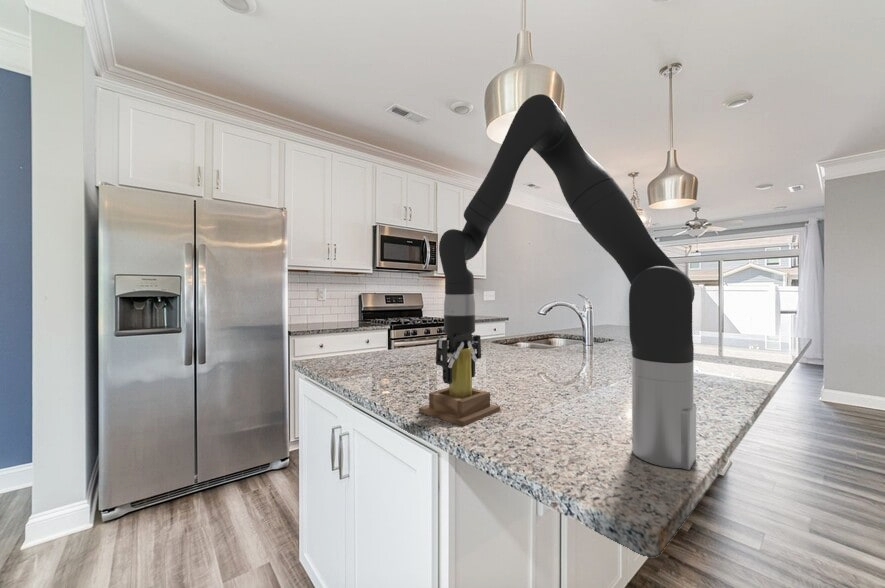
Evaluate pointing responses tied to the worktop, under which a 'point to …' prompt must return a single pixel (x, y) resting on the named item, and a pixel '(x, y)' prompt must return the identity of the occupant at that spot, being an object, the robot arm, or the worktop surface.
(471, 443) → the worktop surface
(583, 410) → the worktop surface
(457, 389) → the vase
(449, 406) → the socket block
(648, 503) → the worktop surface
